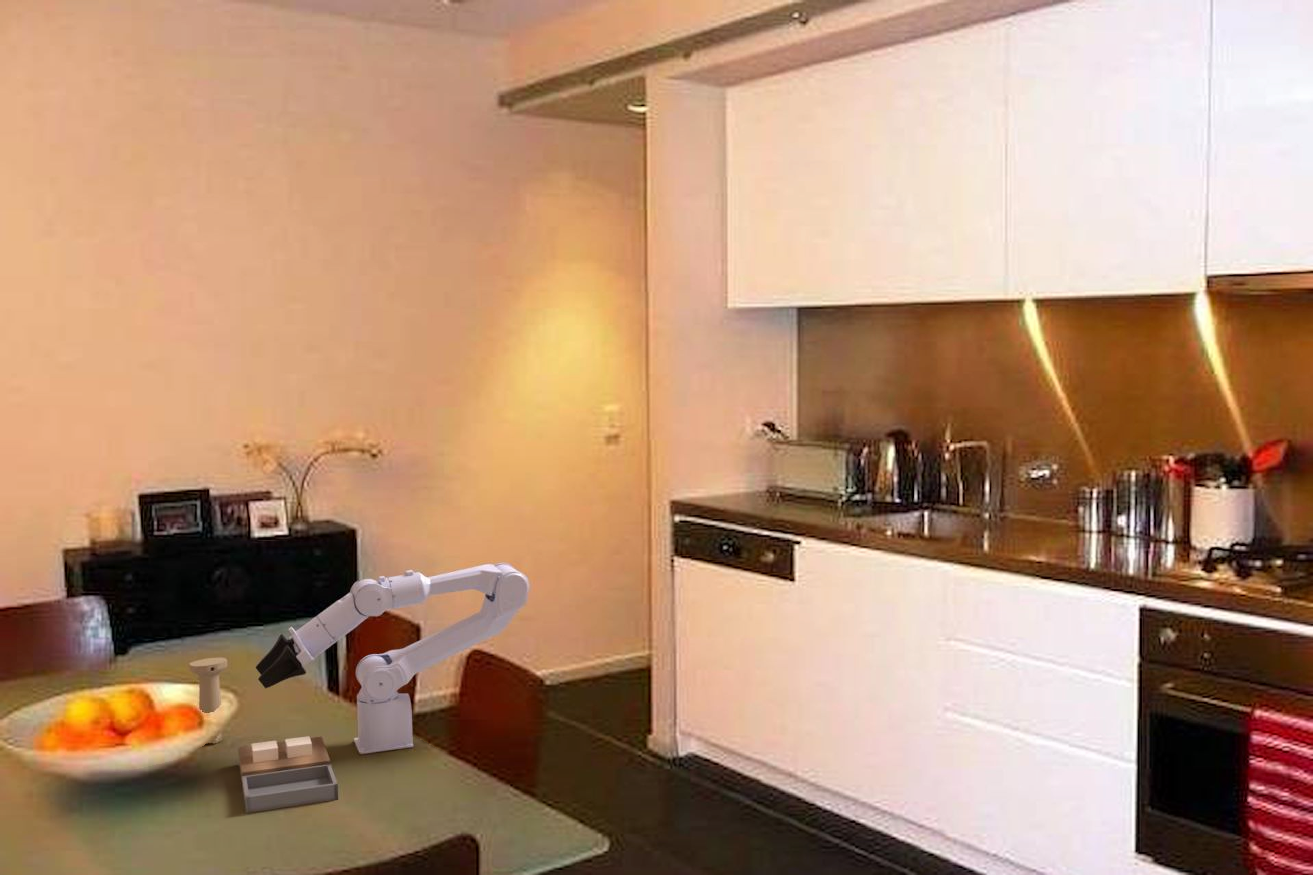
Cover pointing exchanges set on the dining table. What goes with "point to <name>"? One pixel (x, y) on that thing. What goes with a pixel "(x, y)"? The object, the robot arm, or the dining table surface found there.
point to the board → (282, 759)
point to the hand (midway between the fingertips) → (260, 677)
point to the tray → (289, 788)
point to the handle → (209, 684)
